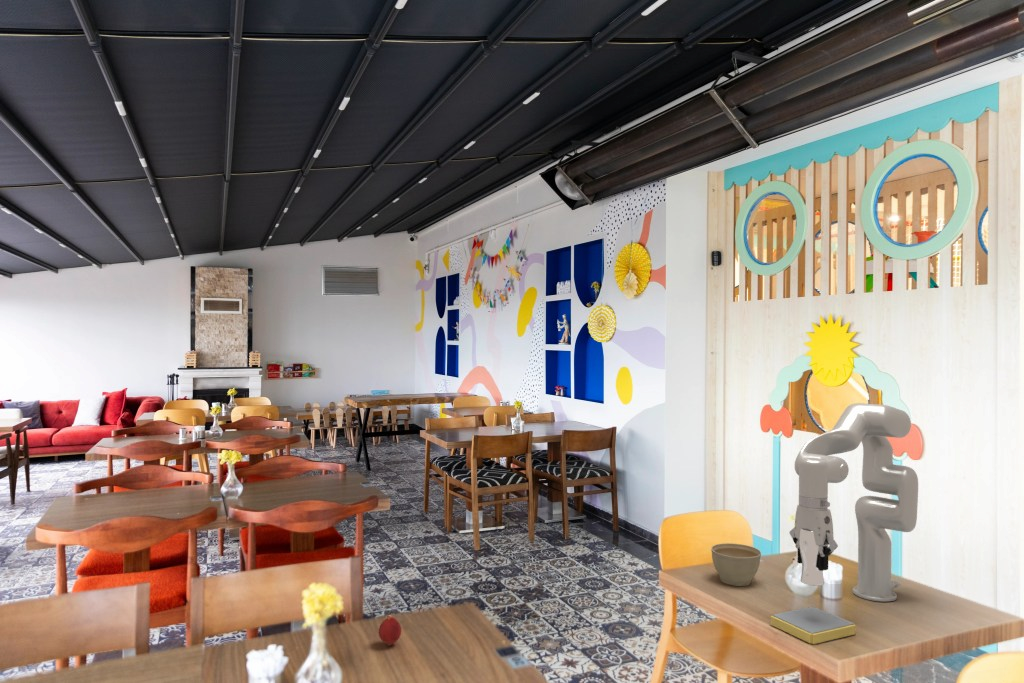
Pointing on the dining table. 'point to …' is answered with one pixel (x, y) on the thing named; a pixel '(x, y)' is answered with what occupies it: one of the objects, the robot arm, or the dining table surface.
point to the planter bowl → (736, 563)
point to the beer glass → (810, 559)
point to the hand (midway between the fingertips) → (812, 565)
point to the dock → (813, 625)
